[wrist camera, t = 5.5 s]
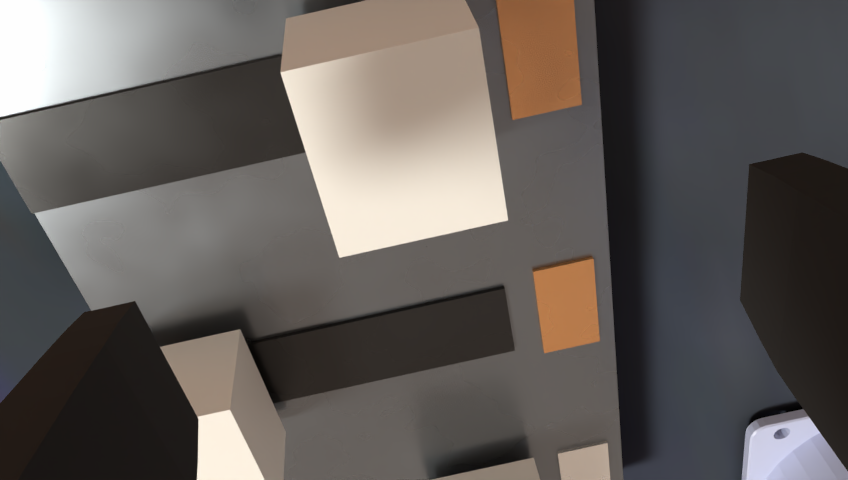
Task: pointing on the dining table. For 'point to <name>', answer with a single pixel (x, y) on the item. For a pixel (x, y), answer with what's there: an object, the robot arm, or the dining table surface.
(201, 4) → the switch unit
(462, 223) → the cream small block
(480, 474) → the white small block
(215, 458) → the cream small block
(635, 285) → the dining table surface
